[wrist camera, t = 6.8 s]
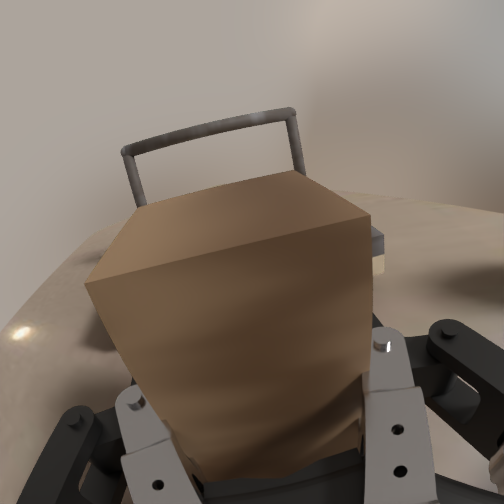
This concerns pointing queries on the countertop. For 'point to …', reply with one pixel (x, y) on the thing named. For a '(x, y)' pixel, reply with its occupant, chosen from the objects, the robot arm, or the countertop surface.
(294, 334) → the walnut block
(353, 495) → the robot arm
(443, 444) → the countertop surface
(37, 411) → the countertop surface
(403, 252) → the countertop surface
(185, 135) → the cart
